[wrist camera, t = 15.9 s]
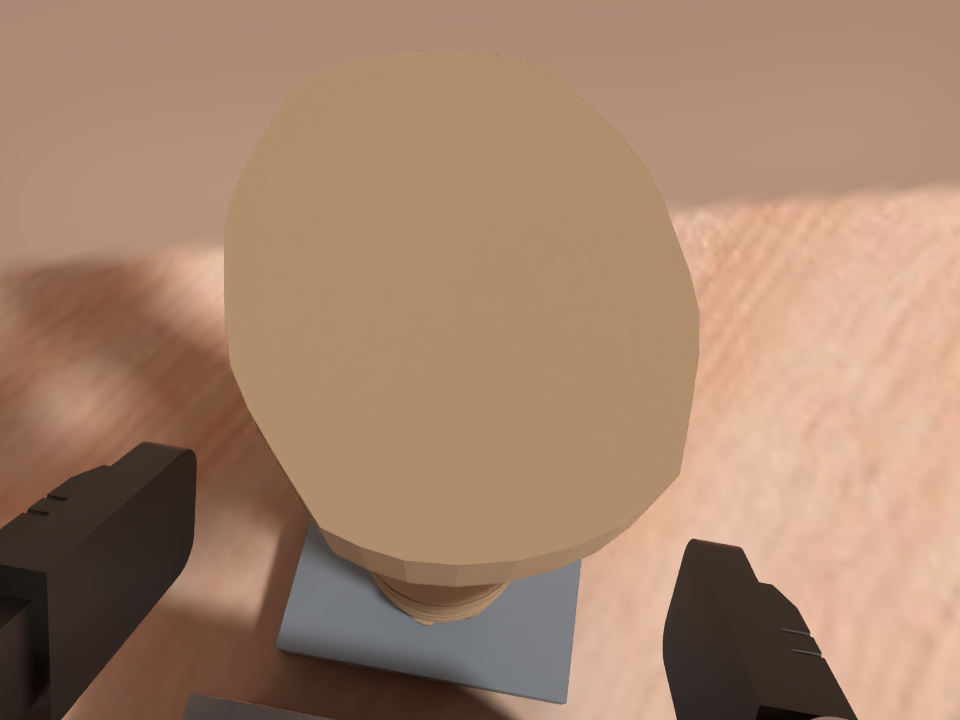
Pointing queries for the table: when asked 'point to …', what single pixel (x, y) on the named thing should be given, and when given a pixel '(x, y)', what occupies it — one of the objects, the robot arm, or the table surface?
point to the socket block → (238, 710)
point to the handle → (458, 322)
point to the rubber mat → (434, 628)
